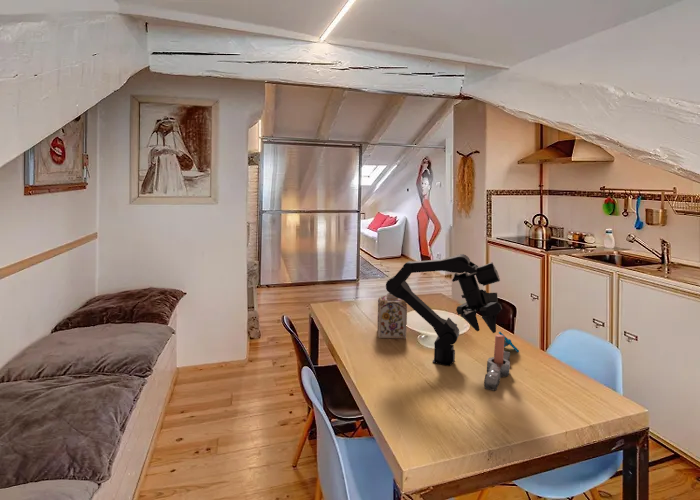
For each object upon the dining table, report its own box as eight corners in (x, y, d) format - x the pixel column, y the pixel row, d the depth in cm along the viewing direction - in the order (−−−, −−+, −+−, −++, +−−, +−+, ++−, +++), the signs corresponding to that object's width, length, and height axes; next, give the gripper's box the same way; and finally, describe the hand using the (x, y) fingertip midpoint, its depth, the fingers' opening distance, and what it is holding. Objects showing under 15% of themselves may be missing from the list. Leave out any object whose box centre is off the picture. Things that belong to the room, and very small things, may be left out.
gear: (523, 352, 159) (504, 333, 160) (511, 363, 160) (492, 343, 161) (515, 346, 170) (498, 327, 171) (504, 355, 171) (487, 337, 172)
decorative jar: (406, 339, 178) (407, 297, 175) (378, 338, 178) (379, 296, 175) (403, 329, 190) (404, 290, 187) (377, 329, 190) (377, 289, 187)
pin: (492, 373, 145) (494, 336, 143) (494, 369, 148) (496, 334, 146) (501, 375, 144) (503, 338, 142) (503, 371, 147) (505, 335, 145)
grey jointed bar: (478, 388, 134) (478, 375, 134) (494, 355, 160) (495, 345, 160) (501, 393, 131) (502, 380, 131) (514, 359, 157) (515, 348, 156)
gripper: (506, 280, 142) (522, 324, 142) (473, 282, 159) (487, 321, 159) (479, 292, 138) (496, 337, 138) (449, 293, 156) (464, 333, 156)
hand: (486, 331), depth 148 cm, fingers open, 9 cm apart
